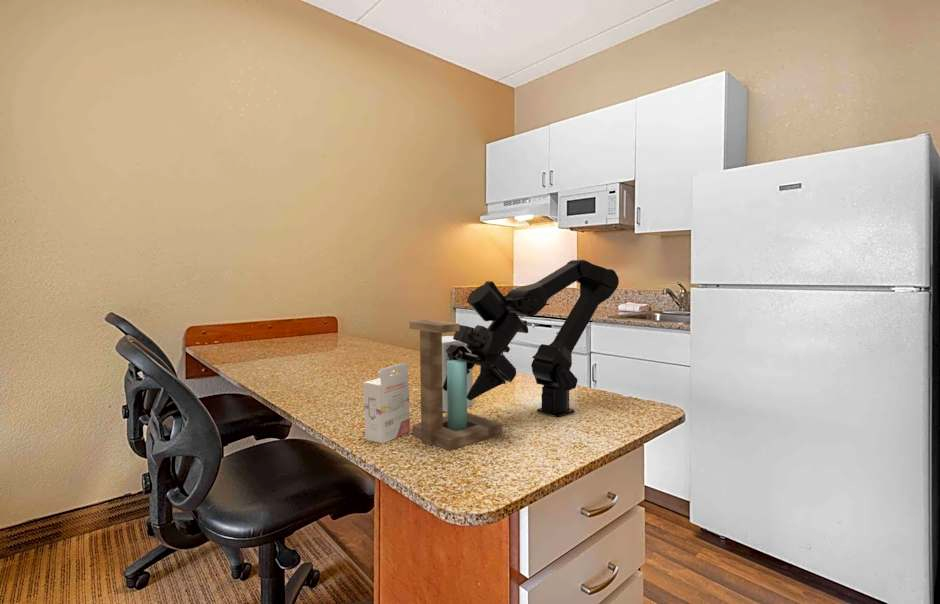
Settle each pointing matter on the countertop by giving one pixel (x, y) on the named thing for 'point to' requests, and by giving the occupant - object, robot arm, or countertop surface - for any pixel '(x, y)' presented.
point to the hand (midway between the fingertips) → (455, 394)
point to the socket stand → (432, 419)
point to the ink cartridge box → (387, 405)
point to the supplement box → (445, 344)
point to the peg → (457, 394)
